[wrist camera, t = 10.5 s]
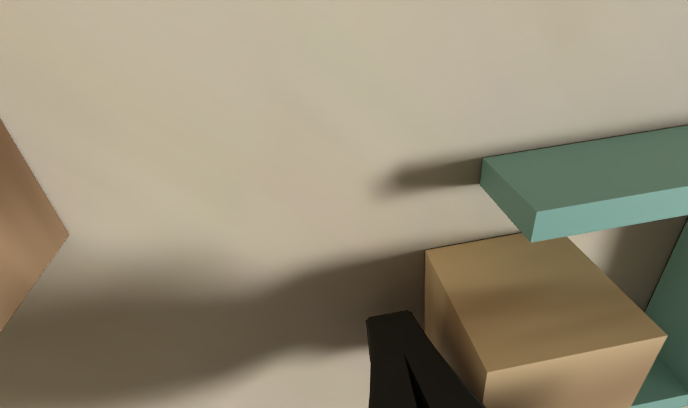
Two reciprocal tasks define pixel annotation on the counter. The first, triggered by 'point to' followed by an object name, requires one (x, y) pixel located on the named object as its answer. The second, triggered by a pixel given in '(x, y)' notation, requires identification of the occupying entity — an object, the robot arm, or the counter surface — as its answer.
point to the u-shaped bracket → (610, 220)
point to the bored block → (23, 228)
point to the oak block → (536, 325)
